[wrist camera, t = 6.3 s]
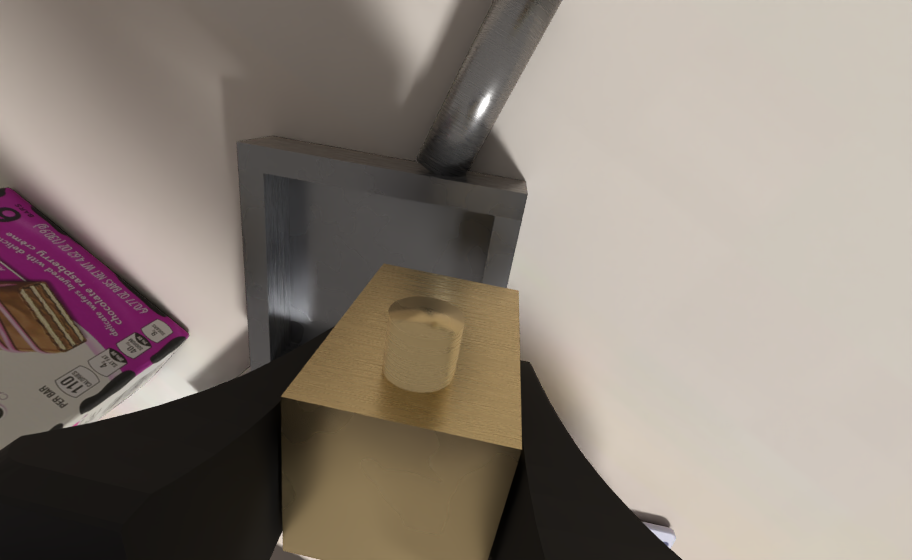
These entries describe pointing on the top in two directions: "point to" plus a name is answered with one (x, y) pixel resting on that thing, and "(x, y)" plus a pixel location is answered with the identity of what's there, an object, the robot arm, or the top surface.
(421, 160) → the steel shaft
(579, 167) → the top surface
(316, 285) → the grey square tray
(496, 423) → the brass block with pegs
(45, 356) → the candy bar box
